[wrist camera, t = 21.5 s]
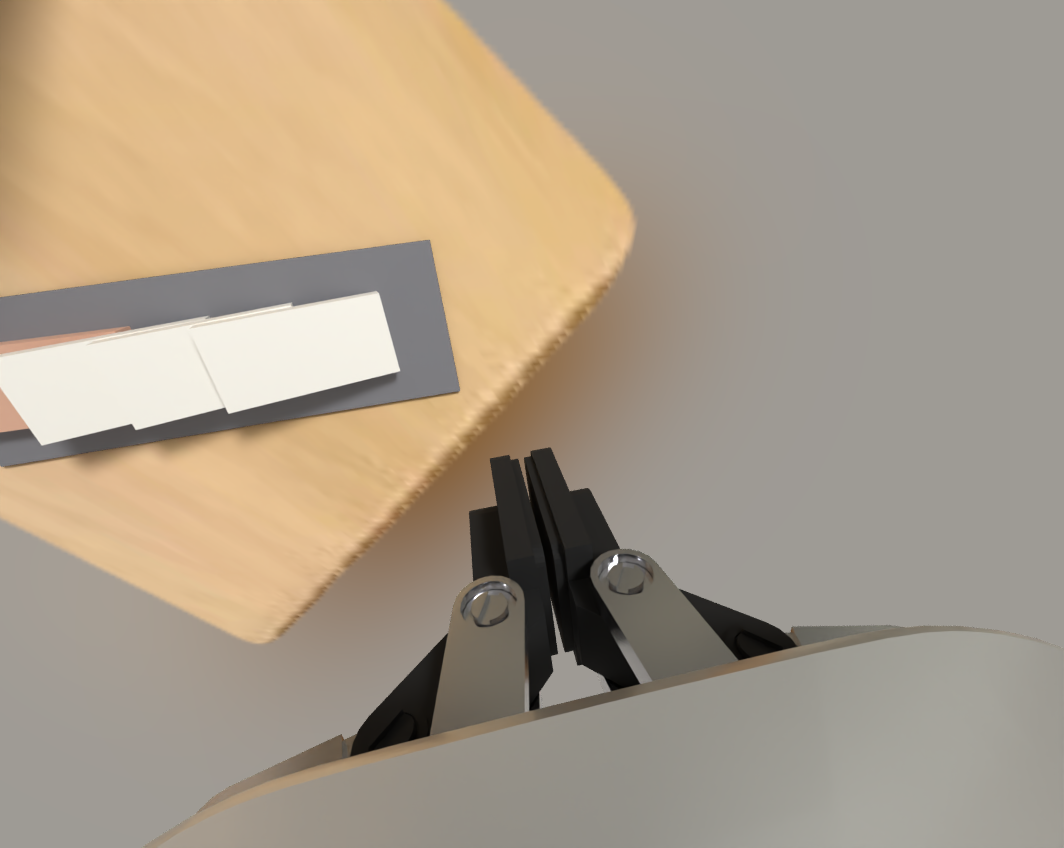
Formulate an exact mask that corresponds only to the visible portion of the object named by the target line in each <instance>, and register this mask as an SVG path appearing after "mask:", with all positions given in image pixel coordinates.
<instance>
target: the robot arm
mask: <svg viewBox="0 0 1064 848" xmlns="http://www.w3.org/2000/svg"><path fill="white" fill-rule="evenodd" d="M490 463H491V470H492V476H493V482H494V488H495V494H496V501H497V506H493V507H488V508H483V509H478V510H473V511H470V512H469V519H470V535H471V551H472V568H473V582H471V583H470V584H468V585H467V586H466V587H465V588H463V589H462V590H461V592H460V593H459V594H458V596H457V597H456V599H455V602H454V605H453V608H452V614H451V620H450V625H449V631H448V633H447V634H446V635H445V637H444V638H443V639H442V640H441V641H440V642H439V643H438V644H437V645H436V646H435V647H434V648H433V649H432V650H431V651H430V653H428V655H427V656H426V657H425V658H424V659H423V660H422V661H421V662H420V663H419V664H418V665H417V666H416V667H415V668H414V669H413V671H411V672H410V674H409V675H408V676H407V677H406V678H405V679H404V680H403V681H402V682H401V683H400V684H399V685H398V686H397V687H396V688H395V689H394V690H393V692H392V693H391V694H390V695H389V696H388V697H387V698H386V699H385V700H384V701H383V702H382V703H381V704H380V705H379V706H378V707H377V708H376V710H375V711H374V712H373V713H372V714H371V715H370V716H369V717H368V718H367V720H366V721H365V722H364V724H363V725H362V726H361V728H360V729H359V731H358V733H357V734H355V735H354V736H351V737H349V738H347V739H345V740H344V738H343V736H342V734H341V735H339V736H336V737H334V738H332V739H330V740H328V741H326V742H324V743H321V744H319V745H317V746H315V747H313V748H311V749H309V750H307V751H304V752H302V753H300V754H298V755H296V756H294V757H291V758H289V759H287V760H285V761H283V762H281V763H279V764H277V765H274V766H272V767H270V768H268V769H266V770H264V771H262V772H260V773H257V774H255V775H253V776H251V777H249V778H247V779H244V780H242V781H240V782H238V783H236V784H234V785H232V786H229V787H228V788H226V789H225V790H223V791H222V792H220V793H218V794H217V795H215V796H214V797H212V798H211V799H210V800H209V801H208V802H207V803H206V804H205V805H204V806H203V807H202V808H201V809H200V810H199V811H198V812H197V813H196V814H195V815H193V816H191V817H189V818H188V819H186V820H185V821H183V822H181V823H180V824H178V825H176V826H175V827H173V828H172V829H170V830H169V831H167V832H165V833H163V834H162V835H160V836H159V837H157V838H155V839H154V840H152V841H151V842H149V843H148V844H146V845H145V846H143V847H142V848H1064V648H1061V647H1059V646H1056V645H1054V644H1051V643H1048V642H1045V641H1042V640H1040V639H1037V638H1032V637H1028V636H1024V635H1020V634H1016V633H1010V632H1005V631H1000V630H992V629H983V628H974V627H964V626H915V627H899V626H891V625H879V626H878V625H875V626H798V627H792V628H791V632H790V633H784V632H782V631H781V630H780V629H778V628H776V627H775V626H773V625H770V624H769V623H766V622H764V621H761V620H759V619H756V618H754V617H751V616H748V615H746V614H743V613H740V612H738V611H735V610H733V609H730V608H727V607H725V606H722V605H720V604H717V603H714V602H712V601H709V600H706V599H704V598H701V597H699V596H696V595H694V594H691V593H688V592H686V591H683V590H680V589H678V588H677V586H676V585H675V584H674V583H673V582H672V580H671V579H670V578H669V577H668V576H667V575H666V573H665V572H664V571H663V570H662V568H661V567H660V566H659V565H658V564H657V563H656V562H655V561H654V560H653V559H652V558H651V557H650V556H648V555H646V554H644V553H642V552H640V551H636V550H632V549H620V548H619V546H618V544H617V542H616V540H615V538H614V536H613V534H612V532H611V530H610V528H609V526H608V524H607V522H606V520H605V518H604V516H603V515H602V512H601V510H600V508H599V507H598V505H597V503H596V501H595V499H594V497H593V495H592V493H591V491H590V490H589V489H588V488H585V489H580V490H575V491H569V489H568V487H567V484H566V482H565V480H564V477H563V475H562V473H561V470H560V468H559V466H558V464H557V461H556V459H555V457H554V454H553V452H552V450H551V448H545V449H539V450H533V451H531V456H530V457H525V458H524V463H525V470H526V476H527V484H528V490H529V496H528V493H527V489H526V486H525V482H524V478H523V475H522V471H521V468H520V464H519V460H518V459H514V460H510V456H509V455H507V456H501V457H496V458H490ZM529 497H530V500H529ZM550 598H551V599H550ZM551 601H552V605H553V609H554V613H555V616H556V621H557V624H558V628H559V632H560V636H561V639H562V643H563V647H564V651H565V652H569V651H574V655H575V658H576V662H577V665H584V666H586V667H588V668H589V669H591V670H593V671H595V672H597V673H598V677H599V681H600V684H601V687H602V689H603V691H604V693H602V694H598V695H594V696H590V697H586V698H582V699H578V700H574V701H570V702H566V703H561V704H557V705H553V706H549V707H545V708H542V698H541V693H540V690H541V688H542V687H543V686H544V684H545V683H546V681H547V680H548V678H549V677H550V675H551V674H552V672H553V667H552V660H551V656H552V655H556V654H558V651H557V643H556V636H555V628H554V621H553V613H552V606H551Z"/></svg>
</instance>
